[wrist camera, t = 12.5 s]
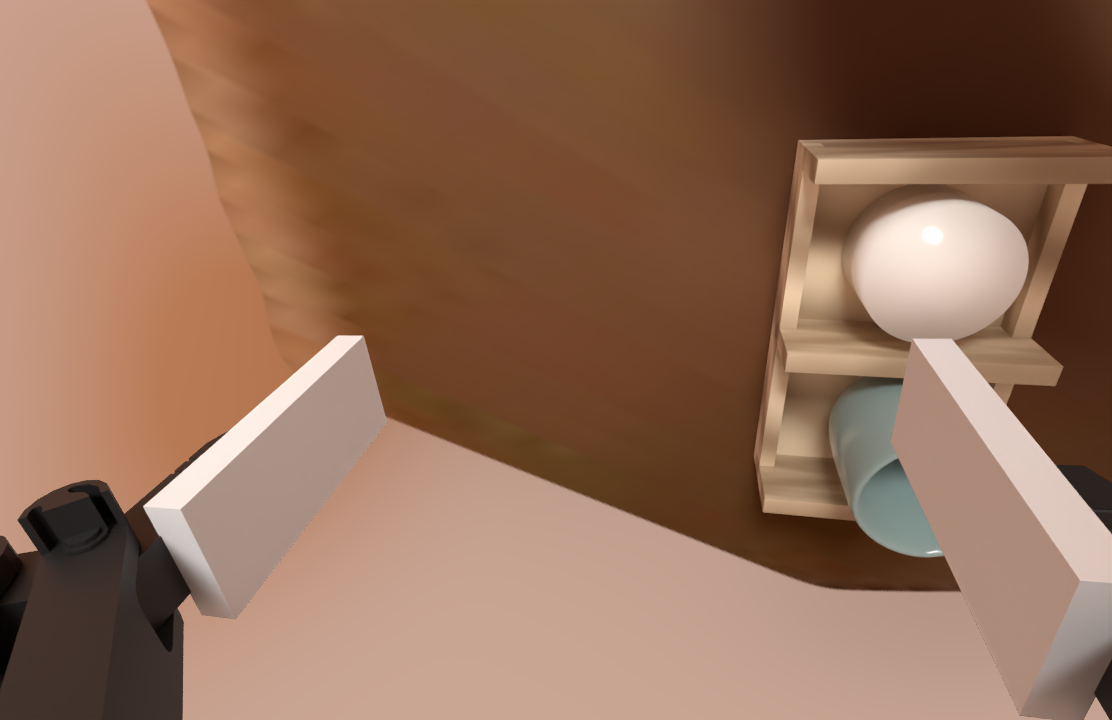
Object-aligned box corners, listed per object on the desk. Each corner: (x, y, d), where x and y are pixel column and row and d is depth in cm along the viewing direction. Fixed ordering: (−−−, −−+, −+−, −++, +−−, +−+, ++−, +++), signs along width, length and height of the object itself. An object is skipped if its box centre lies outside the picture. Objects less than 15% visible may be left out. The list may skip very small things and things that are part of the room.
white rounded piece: (854, 182, 34) (878, 204, 30) (1003, 182, 33) (1051, 205, 29) (831, 305, 38) (850, 340, 34) (964, 310, 37) (1002, 347, 32)
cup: (878, 468, 43) (926, 579, 34) (793, 410, 42) (820, 508, 33) (973, 396, 39) (1054, 500, 30) (882, 330, 38) (939, 417, 30)
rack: (798, 139, 35) (818, 159, 30) (1072, 136, 32) (1148, 156, 27) (753, 456, 46) (762, 512, 40) (957, 471, 43) (995, 533, 38)
